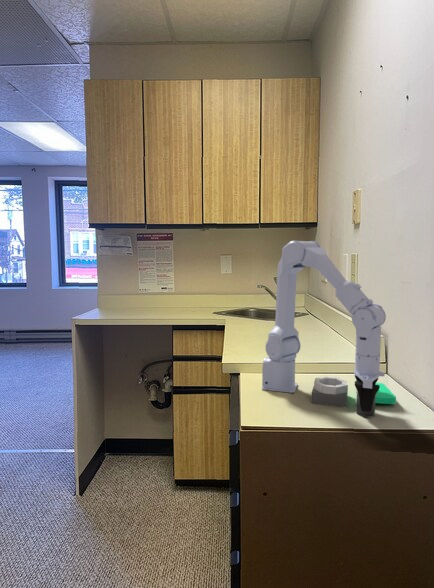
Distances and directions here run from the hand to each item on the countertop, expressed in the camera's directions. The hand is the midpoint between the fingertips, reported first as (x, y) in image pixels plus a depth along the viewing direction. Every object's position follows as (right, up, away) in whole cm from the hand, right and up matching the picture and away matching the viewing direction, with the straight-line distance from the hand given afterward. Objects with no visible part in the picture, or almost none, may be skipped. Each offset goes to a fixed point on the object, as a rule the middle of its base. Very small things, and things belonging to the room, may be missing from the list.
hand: (365, 406), depth 98 cm
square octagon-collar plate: (-6, -1, +10) cm, 12 cm away
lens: (0, -2, 0) cm, 2 cm away
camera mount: (+6, -1, +11) cm, 12 cm away
